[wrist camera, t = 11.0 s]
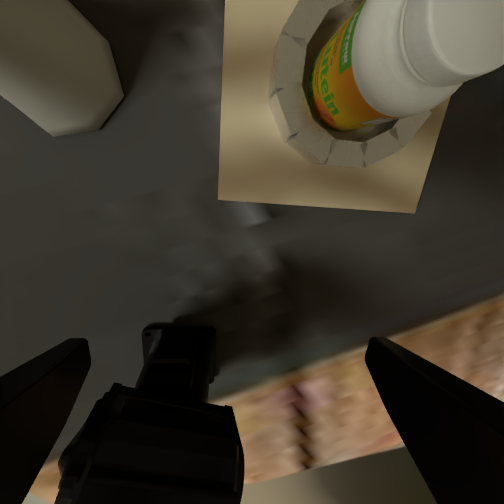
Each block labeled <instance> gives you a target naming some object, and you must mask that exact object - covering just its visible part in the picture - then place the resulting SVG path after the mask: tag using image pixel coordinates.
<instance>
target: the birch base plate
mask: <svg viewBox="0 0 504 504" xmlns="http://www.w3.org/2000/svg"><path fill="white" fill-rule="evenodd" d="M298 1H299V0H225V18H224V46H223V74H222V102H221V129H220V157H219V185H218V200H229V201H244V202H259V203H273V204H288V205H302V206H317V207H331V208H346V209H360V210H375V211H389V212H404V213H415V211H416V207H417V204H418V201H419V198H420V194H421V191H422V188H423V185H424V181H425V178H426V175H427V172H428V168H429V165H430V162H431V159H432V155H433V152H434V149H435V146H436V142H437V139H438V136H439V133H440V129H441V126H442V123H443V120H444V116H445V113H446V110H447V107H448V103H449V100H450V97H451V96H450V97H449V98H447V99H446V100H445V101H443V102H442V103H441V104H439V105H438V106H436V107H434V109H430V112H431V115H430V116H429V117H428V118H427V120H426V121H425V122H424V123H423V125H422V126H421V127H420V128H419V130H418V131H417V132H416V134H415V135H414V136H413V137H412V139H411V140H410V141H409V142H408V144H407V145H406V146H405V147H404V148H400V149H401V151H399V152H397V153H394V154H392V155H390V156H388V157H386V158H384V159H382V160H380V161H378V162H376V163H374V164H372V165H370V166H368V167H362V168H345V167H334V166H323V165H313V164H314V163H309V162H308V161H307V160H305V159H304V158H303V157H302V156H301V155H299V154H298V153H297V152H296V151H294V150H293V149H292V148H291V147H289V146H288V145H287V144H286V143H284V142H285V141H286V139H287V138H288V137H286V138H284V139H282V138H281V135H280V132H279V130H278V127H277V124H276V122H275V119H274V117H273V114H272V111H271V109H270V106H269V101H270V100H271V99H269V98H268V90H269V79H270V68H271V57H272V53H273V50H274V47H275V44H276V42H277V40H278V37H279V35H280V33H281V30H282V28H283V27H284V25H285V23H286V22H287V20H288V18H289V17H290V15H291V13H292V11H293V10H294V8H295V6H296V5H297V3H298ZM346 21H347V20H345V19H339V20H337V21H335V22H333V23H331V24H330V25H328V26H326V27H324V28H322V29H320V30H318V31H316V32H315V33H314V34H313V36H312V38H311V39H310V41H309V42H308V44H307V48H306V56H305V64H304V72H303V79H302V88H303V91H304V94H305V97H306V81H307V76H308V72H309V69H310V67H311V65H312V62H313V61H314V59H315V57H316V56H317V54H318V53H319V52H320V50H321V49H322V48H323V47H324V46H325V44H326V43H327V42H328V41H329V40H330V39H331V38H332V37H333V35H334V34H335V33H336V32H337V31H338V30H339V29H340V27H341V26H342V25H343V24H344V23H345V22H346ZM306 100H307V99H306ZM311 115H312V114H311ZM312 118H313V120H314V121H315V122H316V123H318V122H317V121H316V120H315V119H314V117H313V116H312ZM318 124H319V123H318ZM319 125H320V124H319ZM320 126H321V125H320ZM374 126H375V125H373V126H369V127H365V128H361V129H357V130H353V131H347V132H334V131H330V130H328V129H326V128H324V127H322V126H321V127H322V128H323V129H324V130H326V131H327V132H328V133H329V134H330V135H331V136H332V137H333V138H335V139H337V140H346V141H355V140H357V139H359V138H361V137H363V136H365V135H367V134H369V133H370V132H371V130H372V129H373V128H374Z"/></svg>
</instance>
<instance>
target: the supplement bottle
mask: <svg viewBox="0 0 504 504" xmlns="http://www.w3.org/2000/svg"><path fill="white" fill-rule="evenodd" d="M503 64H504V0H364V1H363V2H362V3H361V4H360V6H359V7H358V8H357V9H356V10H355V11H354V12H353V14H352V15H351V16H350V17H349V18H348V19H347V21H346V22H345V23H344V24H343V25H342V26H341V27H340V29H339V30H338V31H337V32H336V33H335V34H334V35H333V37H332V38H331V39H330V40H329V41H328V42H327V43H326V44H325V46H324V47H323V48H322V49H321V50H320V52H319V53H318V54H317V56H316V57H315V59H314V61H313V62H312V65H311V67H310V69H309V72H308V76H307V81H306V99H307V103H308V106H309V109H310V112H311V114H312V116H313V117H314V119H315V120H316V121H317V122H318V123H319V124H320V125H321V126H322V127H324V128H326V129H328V130H330V131H334V132H347V131H353V130H357V129H361V128H365V127H369V126H373V125H377V124H381V123H385V122H389V121H393V120H397V119H402V118H406V117H410V116H414V115H417V114H420V113H423V112H426V111H428V110H430V109H432V108H434V107H436V106H438V105H439V104H441V103H442V102H443V101H445V100H446V99H447V98H449V97H450V96H451V95H452V94H453V93H454V92H455V91H456V90H457V89H458V88H459V87H460V86H461V85H462V84H463V82H466V81H468V80H470V79H473V78H476V77H479V76H481V75H484V74H486V73H489V72H491V71H493V70H495V69H497V68H499V67H500V66H502V65H503Z"/></svg>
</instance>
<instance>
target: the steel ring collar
mask: <svg viewBox="0 0 504 504" xmlns="http://www.w3.org/2000/svg"><path fill="white" fill-rule="evenodd" d="M363 1H364V0H299V1H298V3H297V5H296V6H295V8H294V10H293V11H292V13H291V15H290V17H289V18H288V20H287V22H286V23H285V25H284V27H283V28H282V30H281V33H280V35H279V37H278V40H277V42H276V44H275V47H274V50H273V53H272V57H271V68H270V79H269V90H268V98H269V99H271V100H270V101H269V106H270V109H271V111H272V114H273V117H274V119H275V122H276V124H277V127H278V130H279V132H280V135H281V138H282V139H284V138H286V137H288V138H287V139H286V141H285V142H284V143H286V144H287V145H288V146H289V147H291V148H292V149H293V150H294V151H296V152H297V153H298V154H299V155H301V156H302V157H303V158H304V159H305V160H307V161H308V162H309V163H314V164H313V165H323V166H334V167H345V168H362V167H368V166H370V165H372V164H374V163H376V162H378V161H380V160H382V159H384V158H386V157H388V156H390V155H392V154H394V153H397V152H399V151H401V149H400V148H404V147H405V146H406V145H407V144H408V142H409V141H410V140H411V139H412V137H413V136H414V135H415V134H416V132H417V131H418V130H419V128H420V127H421V126H422V125H423V123H424V122H425V121H426V120H427V118H428V117H429V116H430V115H431V112H430V110H428V111H426V112H423V113H420V114H417V115H414V116H410V117H406V118H402V119H397V120H393V121H389V122H385V123H381V124H377V125H375V126H374V128H373V129H372V130H371V132H370V133H369V134H367V135H365V136H363V137H361V138H359V139H357V140H355V141H346V140H337V139H335V138H333V137H332V136H331V135H330V134H329V133H328V132H327V131H326V130H324V129H323V128H322V127H321V126H320V125H319V124H318V123H316V122H315V121H314V120H313V118H312V115H311V112H310V109H309V106H308V103H307V100H306V97H305V94H304V91H303V88H302V79H303V72H304V64H305V56H306V48H307V44H308V42H309V41H310V39H311V38H312V36H313V34H314V33H315V32H316V31H318V30H320V29H322V28H324V27H326V26H328V25H330V24H331V23H333V22H335V21H337V20H339V19H345V20H347V19H348V18H349V17H350V16H351V15H352V14H353V12H354V11H355V10H356V9H357V8H358V7H359V6H360V4H361V3H362V2H363ZM432 109H434V108H432Z"/></svg>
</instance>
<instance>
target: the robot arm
mask: <svg viewBox="0 0 504 504" xmlns="http://www.w3.org/2000/svg"><path fill="white" fill-rule="evenodd" d="M146 332H149V333H150V334H148V333H146ZM209 332H212V333H211V334H210V333H209ZM142 344H143V357H144V366H143V368H142V371H141V373H140V376H139V378H138V381H137V383H136V386H135V388H131V387H126V386H122V384H119V383H114V384H113V385H112V387H111V389H110V391H109V392H106V393H105V394H104V396H103V398H102V399H100V400H97V402H96V403H95V405H94V407H93V409H92V411H91V413H90V415H89V417H88V418H87V420H86V422H85V423H84V425H83V426H82V428H81V429H80V430H79V432H78V433H77V434H76V435H75V437H74V438H73V439H72V441H71V442H70V443H69V444H68V446H67V447H66V448H65V450H64V451H63V453H62V455H61V457H60V459H59V461H58V467H59V471H60V474H61V480H60V483H59V486H58V489H59V492H58V495H57V497H56V500H55V503H54V504H240V502H241V497H242V491H243V484H244V453H243V448H242V444H241V440H240V436H239V432H238V428H237V424H236V420H235V416H234V412H233V408H232V406H227V405H225V406H219V405H214V404H209V403H208V392H209V384H211V383H213V381H214V370H215V345H216V329H215V328H214V327H146V328H144V329H143V331H142ZM365 362H366V365H367V367H368V370H369V372H370V374H371V376H372V379H373V381H374V383H375V386H376V388H377V390H378V393H379V395H380V397H381V399H382V402H383V404H384V406H385V408H386V410H387V412H388V414H389V416H390V418H391V420H392V422H393V423H394V425H395V427H396V429H397V431H398V433H399V434H400V436H401V438H402V440H403V442H404V444H405V446H406V447H407V449H408V451H409V453H410V455H411V457H412V458H413V460H414V462H415V464H416V466H417V468H418V469H419V471H420V473H421V475H422V477H423V479H424V481H425V482H426V484H427V486H428V488H429V490H430V492H431V494H432V495H433V497H434V499H435V501H436V503H437V504H504V402H502V401H500V400H498V399H497V398H495V397H493V396H491V395H489V394H487V393H486V392H484V391H482V390H480V389H478V388H477V387H475V386H473V385H471V384H469V383H467V382H466V381H464V380H462V379H460V378H458V377H456V376H455V375H453V374H451V373H449V372H447V371H445V370H444V369H442V368H440V367H438V366H436V365H435V364H433V363H431V362H429V361H427V360H425V359H424V358H422V357H420V356H418V355H416V354H414V353H413V352H411V351H409V350H407V349H405V348H403V347H402V346H400V345H398V344H396V343H394V342H392V341H391V340H389V339H387V338H385V337H372V338H371V339H370V340H369V344H368V347H367V350H366V354H365ZM90 365H91V357H90V351H89V346H88V341H87V340H86V339H85V338H70V339H68V340H66V341H64V342H62V343H61V344H59V345H57V346H55V347H53V348H52V349H50V350H48V351H46V352H44V353H42V354H41V355H39V356H37V357H35V358H33V359H32V360H30V361H28V362H26V363H24V364H23V365H21V366H19V367H17V368H15V369H14V370H12V371H10V372H8V373H6V374H4V375H3V376H1V377H0V504H22V502H23V501H24V499H25V497H26V495H27V493H28V492H29V490H30V488H31V486H32V484H33V482H34V481H35V479H36V477H37V475H38V473H39V472H40V470H41V468H42V466H43V464H44V462H45V461H46V459H47V457H48V455H49V453H50V452H51V450H52V448H53V446H54V444H55V442H56V441H57V439H58V437H59V435H60V433H61V431H62V429H63V428H64V426H65V424H66V421H67V419H68V417H69V415H70V413H71V410H72V408H73V406H74V404H75V401H76V399H77V397H78V394H79V392H80V390H81V387H82V385H83V383H84V380H85V378H86V376H87V374H88V371H89V369H90ZM209 378H210V379H209Z"/></svg>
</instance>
